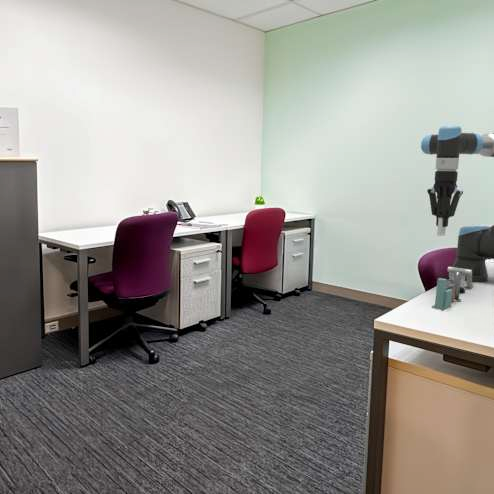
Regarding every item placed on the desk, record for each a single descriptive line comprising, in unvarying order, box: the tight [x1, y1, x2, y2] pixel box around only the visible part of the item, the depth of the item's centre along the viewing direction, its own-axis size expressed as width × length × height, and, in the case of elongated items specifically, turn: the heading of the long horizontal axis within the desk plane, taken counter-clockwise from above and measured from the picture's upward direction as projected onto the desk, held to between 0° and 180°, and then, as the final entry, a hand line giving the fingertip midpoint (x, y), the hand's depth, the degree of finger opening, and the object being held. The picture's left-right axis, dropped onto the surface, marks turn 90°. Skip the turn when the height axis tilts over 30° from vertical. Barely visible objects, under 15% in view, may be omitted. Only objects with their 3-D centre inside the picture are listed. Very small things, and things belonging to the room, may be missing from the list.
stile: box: [431, 277, 453, 311], centre depth 160 cm, size 6×4×10 cm, turn 137°
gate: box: [446, 283, 457, 302], centre depth 164 cm, size 11×2×6 cm, turn 136°
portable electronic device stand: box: [447, 266, 474, 289], centre depth 189 cm, size 9×8×8 cm
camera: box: [447, 279, 466, 294], centre depth 184 cm, size 5×10×4 cm, turn 21°
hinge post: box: [452, 271, 462, 303], centre depth 169 cm, size 4×4×10 cm
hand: (441, 235), depth 174 cm, fingers closed
